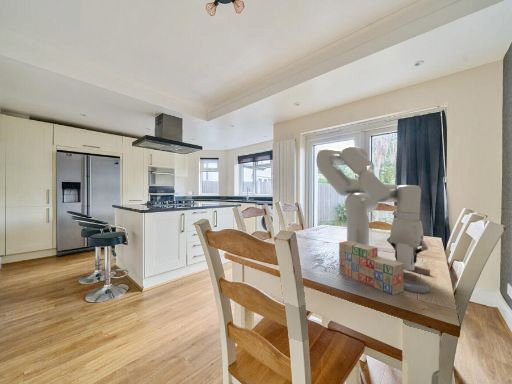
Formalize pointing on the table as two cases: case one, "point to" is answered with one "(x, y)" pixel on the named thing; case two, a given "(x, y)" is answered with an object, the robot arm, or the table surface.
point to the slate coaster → (415, 287)
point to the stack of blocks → (370, 267)
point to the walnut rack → (416, 269)
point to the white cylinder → (405, 256)
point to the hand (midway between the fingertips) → (405, 261)
